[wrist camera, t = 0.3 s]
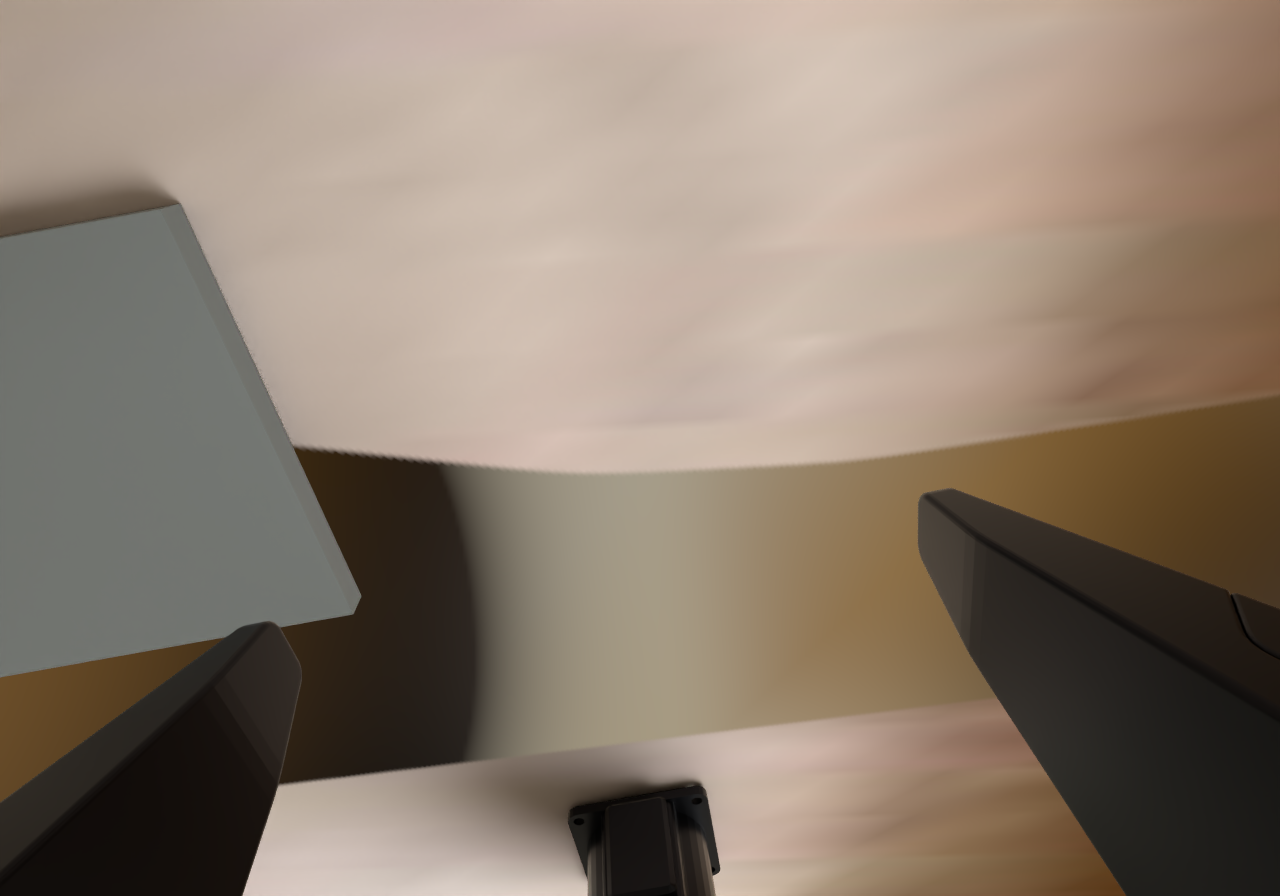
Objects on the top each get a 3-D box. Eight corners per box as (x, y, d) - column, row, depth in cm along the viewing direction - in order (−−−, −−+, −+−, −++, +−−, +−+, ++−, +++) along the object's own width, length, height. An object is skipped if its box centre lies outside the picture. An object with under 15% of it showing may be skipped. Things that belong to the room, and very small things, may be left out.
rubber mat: (361, 595, 25) (353, 614, 24) (-8, 662, 25) (-30, 682, 24) (180, 203, 19) (160, 209, 18) (-317, 295, 19) (-362, 305, 18)
